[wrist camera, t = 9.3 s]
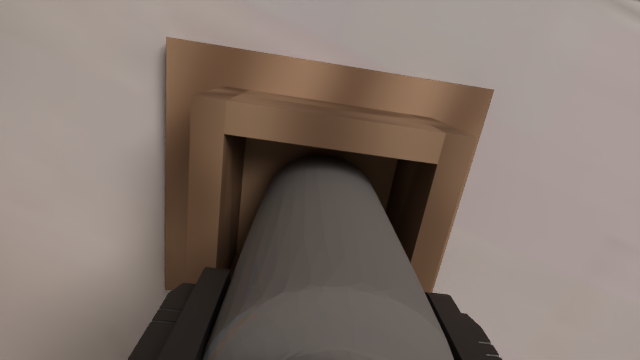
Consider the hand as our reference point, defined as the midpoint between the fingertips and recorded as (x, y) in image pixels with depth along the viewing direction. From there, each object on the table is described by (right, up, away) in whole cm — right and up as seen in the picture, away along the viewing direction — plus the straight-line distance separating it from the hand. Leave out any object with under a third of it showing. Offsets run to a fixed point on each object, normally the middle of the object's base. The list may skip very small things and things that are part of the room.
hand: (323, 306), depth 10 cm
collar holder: (0, +3, +9) cm, 10 cm away
